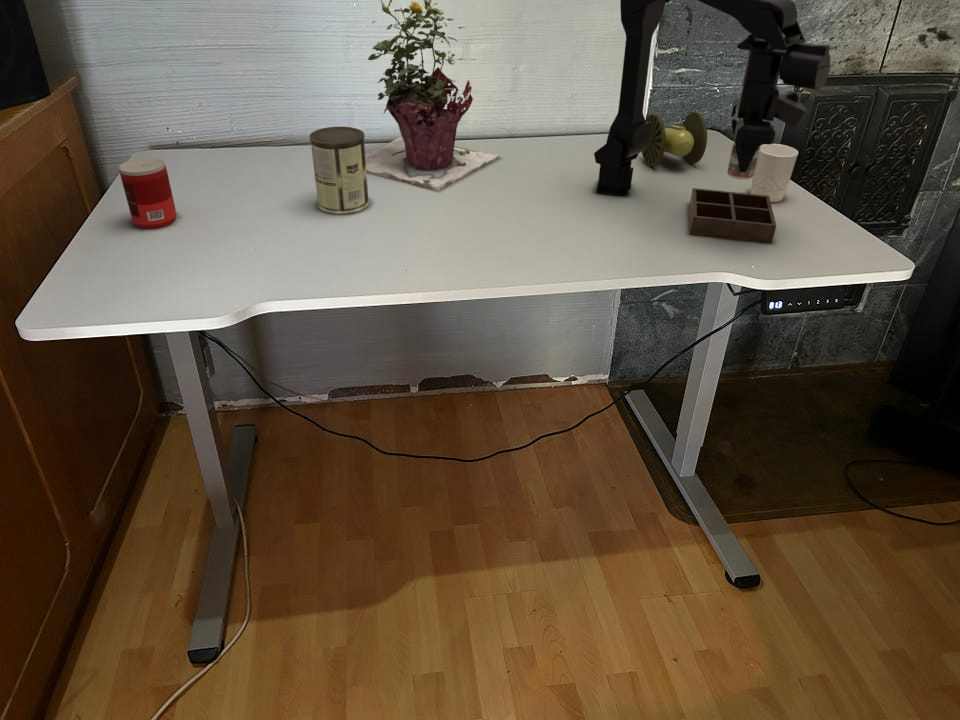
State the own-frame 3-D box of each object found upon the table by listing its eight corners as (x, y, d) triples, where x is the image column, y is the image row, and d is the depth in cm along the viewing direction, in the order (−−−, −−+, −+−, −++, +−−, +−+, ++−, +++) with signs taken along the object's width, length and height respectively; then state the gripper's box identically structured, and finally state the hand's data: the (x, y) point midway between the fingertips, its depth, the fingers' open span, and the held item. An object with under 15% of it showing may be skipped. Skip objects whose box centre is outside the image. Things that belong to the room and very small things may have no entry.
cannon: (615, 139, 186) (621, 93, 180) (659, 137, 189) (666, 91, 182) (657, 175, 166) (665, 124, 160) (706, 172, 169) (716, 121, 162)
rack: (689, 234, 141) (693, 216, 139) (689, 204, 153) (692, 187, 151) (771, 243, 138) (776, 225, 136) (764, 212, 150) (769, 195, 148)
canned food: (186, 215, 143) (173, 160, 137) (158, 232, 137) (144, 174, 131) (152, 209, 145) (139, 154, 139) (124, 225, 139) (108, 168, 133)
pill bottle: (723, 171, 140) (732, 126, 135) (747, 170, 140) (757, 126, 136) (732, 180, 136) (741, 134, 131) (757, 179, 136) (767, 134, 132)
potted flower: (498, 158, 173) (504, -8, 154) (437, 190, 156) (435, 9, 136) (407, 136, 185) (401, -21, 165) (341, 164, 168) (326, -7, 148)
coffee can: (336, 191, 155) (329, 123, 147) (378, 200, 152) (374, 131, 144) (306, 208, 147) (298, 137, 139) (350, 218, 144) (344, 146, 136)
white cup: (788, 205, 154) (801, 158, 148) (748, 201, 155) (760, 154, 149) (783, 191, 160) (795, 145, 154) (745, 187, 161) (756, 142, 156)
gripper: (817, 96, 120) (793, 189, 128) (802, 70, 135) (782, 154, 143) (745, 91, 122) (726, 183, 130) (739, 66, 137) (722, 150, 145)
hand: (741, 167), depth 137 cm, fingers closed on pill bottle, 5 cm apart
